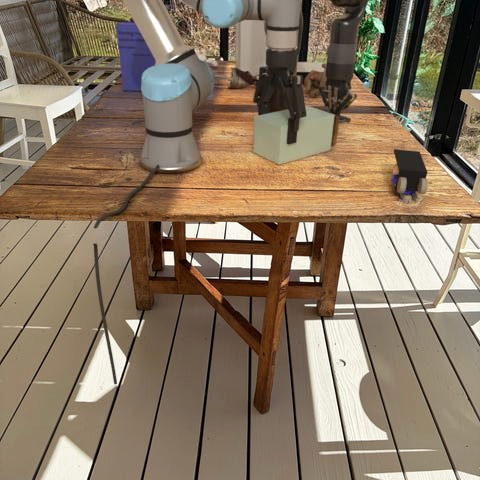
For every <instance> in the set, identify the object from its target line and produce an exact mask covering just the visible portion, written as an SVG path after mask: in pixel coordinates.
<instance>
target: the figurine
mask: <svg viewBox="0 0 480 480" xmlns="http://www.w3.org/2000/svg"><path fill="white" fill-rule="evenodd" d="M230 69H231V72H230V73H231V74H230V76H229V75H225V74H213V75H214V79H215V78H216V79H223V80H227V81H229V84H228V88H229V89H241V88H247V87H249V86H255V87H256V86H257V82H258V78H259V76H258V77H257V76H252V75H251V73H250V72H249V71H245V72H244V71H242V70H240V69H237V68H235V67H232V66H231V67H230Z"/></svg>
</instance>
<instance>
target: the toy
mask: <svg viewBox="0 0 480 480" xmlns="http://www.w3.org/2000/svg"><path fill="white" fill-rule="evenodd" d="M196 54H197V56H198V58H199V59H200V60H202V61H204V62H205V63H206V64H212V65H213V66H214V67H216V68H217V67H218V66H219V63H218V62H217V61H216V60H215V59H213V58H207V56H206V55H205V54H202V53H201V51H197V52H196Z"/></svg>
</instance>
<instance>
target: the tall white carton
mask: <svg viewBox="0 0 480 480" xmlns="http://www.w3.org/2000/svg"><path fill="white" fill-rule="evenodd" d="M267 49H268V47H267V46H266V34H265V31H264V21H260V20H244V21H241V22H239V23H236V24H235V59H234V60H235V62H234V63H235V65H234V66H235V67H234V68H237V69H240V70H242V71H244V72H245V71H249V72H250V73H251V75H252V76H256V77H257V76H259V68H260V67H265V66H267V65H266V50H267Z"/></svg>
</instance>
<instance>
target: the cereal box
mask: <svg viewBox="0 0 480 480" xmlns="http://www.w3.org/2000/svg"><path fill="white" fill-rule="evenodd" d="M115 27H116V37H117V45H118V55H119V64H120V73H121V82H122V90H123V91H127V92H128V91H129V92H142V91H141V85H142V79H141V78H142V74H143V72H144V71H145V70H146V69H148V68H150V67H152V66H155V63H156V61H155V58H154V56H153V54H152V53H151V51H150V49H149V47H148V45H147V43H146V42H145V40H144V38H143V36H142V34H141V32H140V31H139V29H138V27H137V25H136V23H135V22H125V21H124V22H123V21H119V22H116V24H115Z"/></svg>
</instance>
